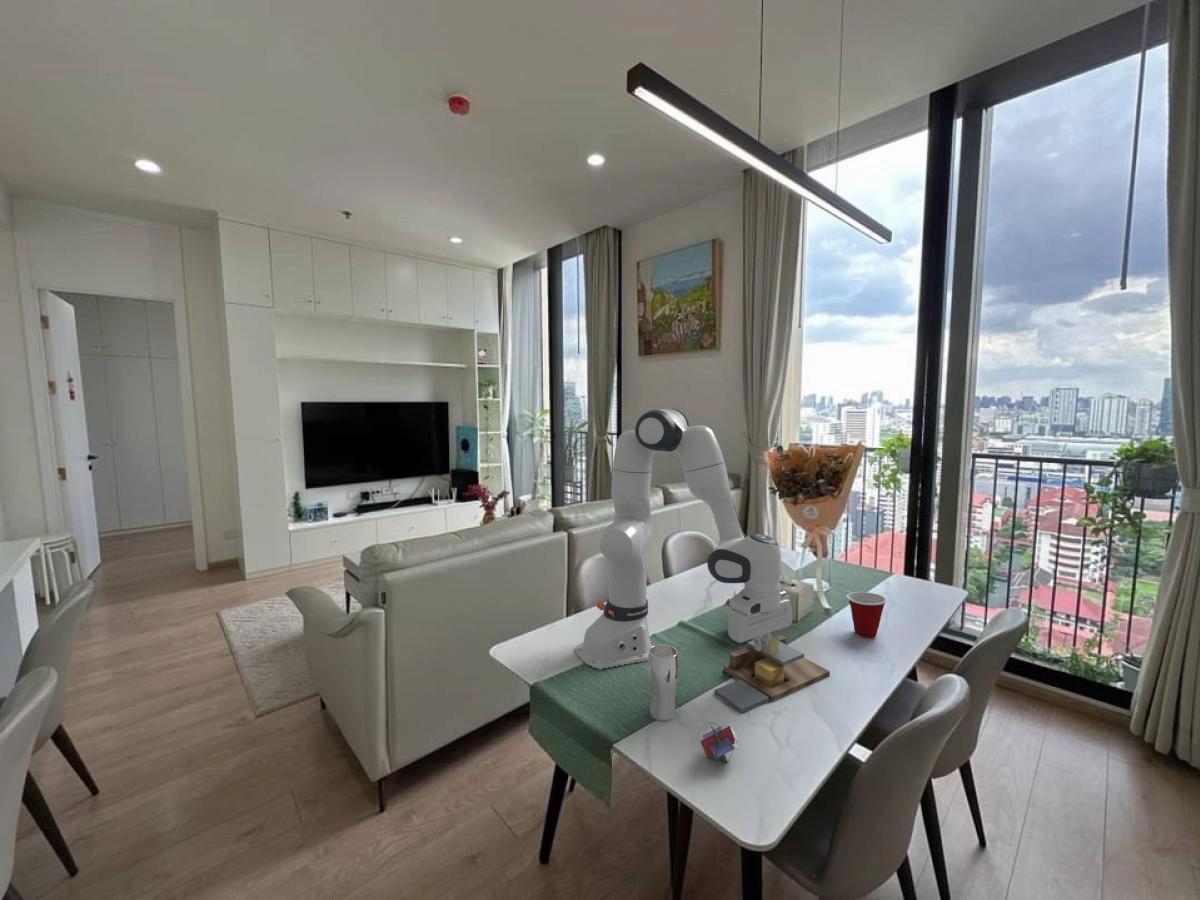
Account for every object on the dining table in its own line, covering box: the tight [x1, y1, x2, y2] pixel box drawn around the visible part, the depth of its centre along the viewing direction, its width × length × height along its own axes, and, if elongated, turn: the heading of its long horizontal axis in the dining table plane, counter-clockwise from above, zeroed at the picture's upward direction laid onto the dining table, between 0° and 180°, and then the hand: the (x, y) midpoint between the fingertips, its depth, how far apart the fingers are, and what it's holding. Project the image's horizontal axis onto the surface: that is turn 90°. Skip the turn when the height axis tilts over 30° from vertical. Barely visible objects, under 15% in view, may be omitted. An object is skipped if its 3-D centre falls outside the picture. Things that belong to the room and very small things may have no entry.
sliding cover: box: [746, 636, 805, 666], centre depth 130 cm, size 8×12×4 cm, turn 30°
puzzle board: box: [723, 634, 831, 702], centre depth 130 cm, size 22×16×5 cm
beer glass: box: [647, 643, 679, 722], centre depth 113 cm, size 7×7×15 cm
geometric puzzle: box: [699, 721, 739, 764], centre depth 99 cm, size 7×7×8 cm
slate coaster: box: [713, 679, 770, 714], centre depth 119 cm, size 9×9×1 cm
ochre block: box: [754, 658, 785, 688], centre depth 125 cm, size 5×5×5 cm
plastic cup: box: [846, 591, 887, 639], centre depth 151 cm, size 11×11×12 cm
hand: (760, 649), depth 127 cm, fingers closed
